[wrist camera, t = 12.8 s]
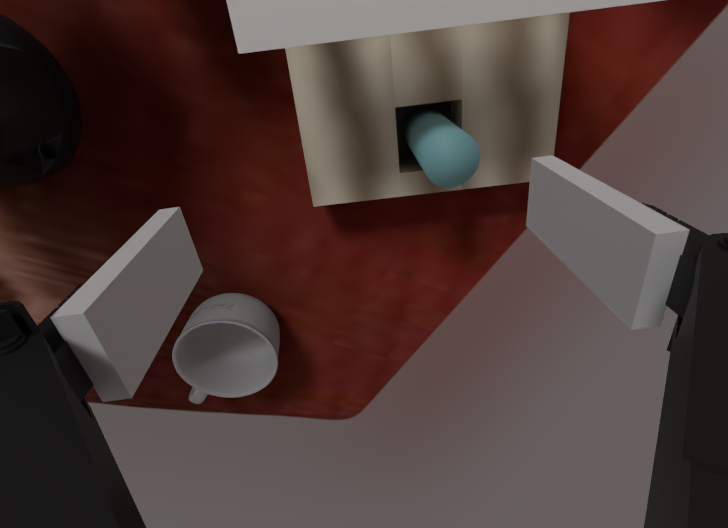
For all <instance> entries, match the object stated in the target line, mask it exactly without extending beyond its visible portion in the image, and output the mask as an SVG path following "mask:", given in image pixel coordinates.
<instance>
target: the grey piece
mask: <svg viewBox="0 0 728 528" xmlns="http://www.w3.org/2000/svg"><path fill="white" fill-rule="evenodd" d="M657 1H665V0H226V2H227V6H228V10H229V15H230V19H231V23H232V28H233V32H234V36H235V41H236V45H237V50H238V54H242V53H251V52H259V51H266V50H274V49H282V48H290V47H298V46H306V45H314V44H322V43H330V42H338V41H346V40H354V39H362V38H370V37H378V36H386V35H394V34H402V33H410V32H418V31H426V30H434V29H442V28H450V27H458V26H465V25H473V24H481V23H489V22H497V21H505V20H513V19H521V18H529V17H537V16H545V15H553V14H561V13H569V12H577V11H585V10H593V9H601V8H609V7H617V6H625V5H633V4H641V3H649V2H657Z"/></svg>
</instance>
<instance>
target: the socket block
mask: <svg viewBox="0 0 728 528" xmlns="http://www.w3.org/2000/svg"><path fill="white" fill-rule="evenodd" d="M569 16H570V12H569V13H561V14H553V15H545V16H537V17H529V18H521V19H513V20H505V21H497V22H489V23H481V24H473V25H465V26H458V27H450V28H442V29H434V30H426V31H418V32H410V33H402V34H394V35H386V36H378V37H370V38H362V39H354V40H346V41H338V42H330V43H322V44H314V45H306V46H298V47H290V48H285V50H286V56H287V62H288V67H289V73H290V78H291V84H292V90H293V95H294V101H295V106H296V112H297V117H298V123H299V129H300V134H301V140H302V145H303V151H304V157H305V162H306V168H307V173H308V179H309V184H310V190H311V196H312V201H313V207H315V206H324V205H332V204H341V203H350V202H359V201H367V200H376V199H385V198H393V197H402V196H411V195H419V194H428V193H437V192H445V191H454V190H463V189H471V188H480V187H489V186H497V185H506V184H515V183H523V182H530V173H531V161H532V158H536V157H543V156H550V155H553V156H554V149H555V140H556V131H557V123H558V114H559V105H560V96H561V87H562V78H563V69H564V60H565V51H566V42H567V33H568V24H569ZM419 107H431V108H433V109H435V110H436V111H438V112H439V113H440V114H442V115H443V116H445V117H446V118H447V119H449V120H450V121H451V122H453V123H454V124H455V125H457V126H458V127H459V128H461V129H462V130H463V131H465V132H466V133H467V134H469V135H470V136H471V137H472V138H473V139H474V140H475V141H476V143H477V145H478V147H479V151H480V161H479V165H478V168H477V170H476V172H475V173H474V175H473V176H472V177H471V178H470V179H469V180H468V181H467V182H465V183H464V184H462V185H460V186H457V187H452V188H445V187H440V186H438V185H436V184H434V183H433V182H431V181H430V180H429V178H428V177H427V175H426V174H425V172H424V171H423V169H422V167H421V166H420V164H419V162H418V161H417V159H416V157H415V156H414V154H413V152H412V151H411V149H410V147H409V146H408V144H407V142H406V141H405V139H404V136H403V123H404V120H405V118H406V117H407V115H408V114H409V113H410V112H411V111H413V110H414V109H416V108H419Z"/></svg>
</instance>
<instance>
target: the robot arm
mask: <svg viewBox="0 0 728 528" xmlns="http://www.w3.org/2000/svg"><path fill="white" fill-rule="evenodd" d="M79 136H80V115H79V109H78V105H77V101H76V98H75V95H74V93H73V90H72V88H71V85H70V83H69V81H68V79H67V77H66V76H65V74H64V72H63V71H62V69H61V68H60V66H59V65H58V63H57V62H56V60H55V59H54V58H53V57H52V55H51V54H50V53H49V52H48V51H47V49H46V48H45V47H44V46H43V45H42V44H41V43H40V42H39V41H38V40H37V39H36V38H35V37H33V36H32V35H31V34H30V33H29V32H27V31H26V30H25V29H24V28H22V27H21V26H19V25H18V24H17V23H15V22H13V21H12V20H10V19H9V18H7V17H5V16H3V15H1V14H0V187H11V186H20V185H26V184H30V183H33V182H36V181H38V180H41V179H43V178H45V177H48V176H50V175H52V174H54V173H56V172H57V171H59V170H60V169H62V168H63V167H64V166H65V165H66V164H67V163H68V162H69V160H70V159H71V158H72V156H73V154H74V152H75V150H76V148H77V145H78V141H79ZM526 226H527V227H528V228H529V229H530V230H531V231H532V232H533V233H534V234H535V235H536V236H537V237H538V238H539V239H540V240H541V241H542V242H543V243H544V244H545V245H546V246H547V247H548V248H549V249H550V250H551V251H552V252H553V253H554V254H555V255H556V256H557V257H558V258H559V259H560V260H561V261H562V262H563V263H564V264H565V265H566V266H567V267H568V268H569V269H570V270H571V271H572V272H573V273H574V274H576V276H577V277H578V278H579V279H580V280H581V281H583V283H584V284H586V286H587V287H588V288H590V289H591V290H592V291H593V292H594V293H595V294H596V295H597V296H598V297H599V298H600V299H601V300H602V301H603V302H604V303H605V304H606V305H607V306H608V307H609V308H610V309H611V310H612V311H613V312H614V313H615V314H616V315H617V316H618V317H619V318H620V319H621V320H622V321H623V322H624V323H625V324H626V325H627V326H628V327H629V328H630V329H631V330H633V329H640V328H648V327H655V326H660V325H661V322H662V319H663V316H664V313H665V309H666V306H668V307H669V308H670V309H671V310H673V311H674V312H675V313H676V314H678V317H677V321H676V323H675V327H674V330H673V333H672V336H671V339H670V342H669V345H668V348H667V351H670V359H669V366H668V372H667V379H666V386H665V392H664V399H663V405H662V412H661V419H660V425H659V432H658V439H657V445H656V452H655V458H654V465H653V472H652V478H651V485H650V491H649V499H648V505H647V511H646V518H645V524H644V528H728V233H721V234H712V235H707V234H705V233H703V232H701V231H700V230H698V229H696V228H694V227H692V226H690V225H688V224H686V223H684V222H683V221H678V219H677V218H675V217H673V216H671V215H667V213H666V212H664V211H662V210H660V209H658V208H656V207H654V206H652V205H648V204H644V203H641V202H638V201H636V200H634V199H632V198H630V197H628V196H626V195H624V194H623V193H621V192H619V191H617V190H615V189H613V188H612V187H610V186H608V185H606V184H604V183H603V182H601V181H599V180H597V179H595V178H593V177H592V176H590V175H588V174H586V173H584V172H582V171H580V170H579V169H577V168H575V167H573V166H571V165H569V164H568V163H566V162H564V161H562V160H560V159H558V158H557V157H555V156H553V155H550V156H543V157H536V158H532V161H531V173H530V185H529V197H528V209H527V221H526ZM202 272H203V268H202V266H201V263H200V260H199V257H198V255H197V252H196V249H195V247H194V244H193V241H192V239H191V236H190V233H189V230H188V228H187V225H186V222H185V220H184V217H183V214H182V211H181V209H180V207H174V208H167V209H160V210H158V211H157V212H156V213H155V214H154V215H153V216H152V217H151V218H150V219H149V220H148V221H147V222H146V223H145V224H144V225H143V226H142V227H141V228H140V229H139V230H138V231H137V232H136V233H135V234H134V235H133V236H132V237H131V238H130V239H129V240H128V241H127V242H126V243H125V244H124V245H123V246H122V247H121V248H120V249H119V250H118V251H117V252H116V253H115V254H114V255H113V256H112V257H111V258H110V259H109V260H108V261H107V262H106V263H105V264H104V265H103V266H102V267H101V268H100V269H99V270H98V271H97V272H96V273H95V274H94V275H93V276H92V277H91V278H90V279H89V280H87V281H86V282H84V283H83V284H81V285H79V286H78V287H77V288H76V289H75V290H74V291H73V292H72V293H71V294H70V295H69V296H68V297H67V299H64V300H63V301H62V302H61V303H60V304H59V305H58V306H59V307H58V308H55V309H54V310H53V311H52V312H51V313H50V314H49V315H48V316H47V317H46V318H45V319H44V320H43V321H42V322H41V323H40V324H39V325H38V326H37V325H36V324H35V322H34V321H33V319H32V317H31V316H30V314H29V313H28V311H27V310H26V308H25V307H24V305H23V304H22V303H20V302H19V301H8V302H2V303H0V528H146V526H145V524H144V522H143V520H142V518H141V515H140V513H139V511H138V509H137V507H136V505H135V503H134V500H133V498H132V496H131V494H130V492H129V489H128V487H127V485H126V483H125V481H124V479H123V477H122V474H121V472H120V470H119V468H118V466H117V464H116V461H115V460H114V457H113V455H112V453H111V451H110V449H109V446H108V444H107V442H106V440H105V438H104V435H103V433H102V431H101V429H100V427H99V425H98V422H97V420H96V418H95V416H94V414H93V412H92V409H91V407H90V406H89V404H88V403H87V401H86V400H85V398H84V397H85V396H86V394H87V393H88V391H89V390H90V388H91V387H92V386H93V387H94V389H95V390H96V392H97V393H98V395H99V397H100V398H101V400H102V401H103V402H106V401H114V400H121V399H128V398H132V397H133V395H134V393H135V392H136V390H137V388H138V386H139V384H140V383H141V381H142V379H143V377H144V375H145V374H146V372H147V370H148V368H149V367H150V365H151V363H152V361H153V359H154V358H155V356H156V354H157V352H158V350H159V349H160V347H161V345H162V343H163V342H164V340H165V338H166V336H167V334H168V333H169V331H170V329H171V327H172V325H173V324H174V322H175V320H176V318H177V316H178V315H179V313H180V311H181V309H182V308H183V306H184V304H185V302H186V300H187V299H188V297H189V295H190V293H191V291H192V290H193V288H194V286H195V284H196V283H197V281H198V279H199V277H200V275H201V274H202Z"/></svg>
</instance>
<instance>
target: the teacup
mask: <svg viewBox="0 0 728 528" xmlns="http://www.w3.org/2000/svg"><path fill="white" fill-rule="evenodd" d="M279 342H280V330H279V325H278V321H277V319H276V317H275V315H274V313H273V312H272V311H271V309H270V308H269V307H268V306H267V305H265V304H264V303H263V302H262V301H260V300H258V299H256V298H254V297H252V296H249V295H245V294H240V293H225V294H220V295H216V296H214V297H211V298H209V299H207V300H206V301H204V302H203V303H202V304H201V305H199V306H198V307H197V308H196V310H195V311H194V312H193V313H192V315H191V316H190V318H189V320H188V321H187V323H186V325H185V327H184V329H183V331H182V333H181V335H180V336H179V337H178V339H177V340H176V342H175V344H174V347H173V351H172V352H173V353H172V361H173V364H174V367H175V369H176V371H177V373H178V374H179V375H180V377H181V378H182V379H183V380H184V381H185V382H187V383H188V384H189V385H191V386H192V387H193V388H192V390H191V392H190V394H189V400H190V401H191V402H192V403H195V404H201V403H202V402H203V401H204V400H205V398H206V397H207V395H208V394H209V395H213V396H219V397H227V398H235V397H243V396H247V395H251V394H253V393H256V392H258V391H260V390H261V389H263V388H265V387H266V386H267V385H268V384H269V383H270V382H271V381H272V379H273V378H274V376H275V374H276V372H277V368H278V352H279Z"/></svg>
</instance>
